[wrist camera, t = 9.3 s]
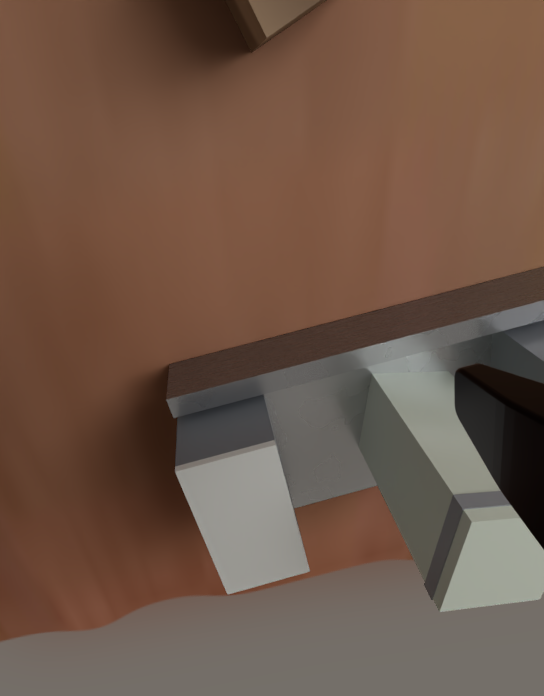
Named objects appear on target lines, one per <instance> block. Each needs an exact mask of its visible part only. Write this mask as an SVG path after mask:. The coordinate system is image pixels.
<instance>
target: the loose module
mask: <svg viewBox="0 0 544 696" xmlns="http://www.w3.org/2000/svg"><path fill="white" fill-rule="evenodd" d="M359 449H360V451H361V453H362V455H363V457H364V459H365V461H366V463H367V465H368V467H369V469H370V471H371V473H372V475H373V477H374V479H375V481H376V483H377V485H378V488H379V490H380V492H381V494H382V496H383V498H384V500H385V502H386V504H387V506H388V508H389V510H390V512H391V514H392V516H393V518H394V520H395V522H396V524H397V526H398V528H399V530H400V532H401V535H402V537H403V539H404V541H405V543H406V545H407V547H408V549H409V551H410V553H411V555H412V557H413V559H414V561H415V563H416V565H417V567H418V569H419V571H420V573H421V575H422V577H423V579H424V581H425V583H424V585H425V588H426V590H427V592H428V594H429V596H430V598H431V600H434V602H435V604H436V606H437V608H438V610H439V612H443V611H451V610H459V609H467V608H475V607H483V606H491V605H499V604H507V603H515V602H523V601H531V600H539V599H540V598H541V596H542V594H543V592H544V550H543V548H542V547H541V545H540V544H539V543H538V541H537V540H536V539H535V537H534V536H533V535H532V533H531V532H530V530H529V529H528V528H527V526H526V525H525V524H524V522H523V521H522V520H521V518H520V517H519V515H518V514H517V513H516V511H515V510H514V509H513V507H512V506H511V505H510V503H509V502H508V500H507V499H506V498H505V496H504V495H503V493H502V492H501V490H500V489H499V487H498V486H497V484H496V482H495V481H494V479H493V478H492V476H491V474H490V472H489V471H488V469H487V467H486V465H485V464H484V462H483V460H482V458H481V457H480V455H479V453H478V452H477V450H476V448H475V446H474V445H473V443H472V441H471V439H470V438H469V436H468V434H467V433H466V431H465V429H464V427H463V426H462V424H461V422H460V420H459V419H458V416H457V414H456V411H455V396H454V376H453V375H452V374H451V373H450V372H449V371H436V372H406V373H376V374H372V375H371V381H370V387H369V392H368V398H367V403H366V409H365V414H364V420H363V425H362V431H361V436H360V442H359Z"/></svg>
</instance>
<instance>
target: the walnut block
mask: <svg viewBox="0 0 544 696" xmlns="http://www.w3.org/2000/svg"><path fill="white" fill-rule="evenodd" d="M225 1H226V3H227V5H228V7H229V9H230V11H231V13H232V15H233V17H234V19H235V21H236V23H237V25H238V27H239V29H240V31H241V33H242V35H243V37H244V39H245V41H246V43H247V45H248V47H249V48H250V50H251V52H253V51H255V50H256V49H258V48H259V47H261V46H262V45H263V44H265V43H266V42H268V41H269V40H271V39H272V38H273V37H275V36H276V35H278V34H279V33H281V32H282V31H283V30H285V29H286V28H288V27H289V26H291V25H292V24H293V23H295V22H296V21H298V20H299V19H301V18H302V17H303V16H305V15H306V14H308V13H309V12H311V11H312V10H313V9H315V8H316V7H318V6H319V5H321V4H322V3H323V2H325V1H326V0H225Z"/></svg>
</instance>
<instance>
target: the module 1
mask: <svg viewBox="0 0 544 696" xmlns="http://www.w3.org/2000/svg"><path fill="white" fill-rule="evenodd" d="M175 473H176V476H177V478H178V480H179V483H180V485H181V487H182V490H183V492H184V494H185V497H186V499H187V501H188V504H189V506H190V508H191V511H192V513H193V515H194V518H195V520H196V522H197V525H198V527H199V529H200V532H201V534H202V536H203V538H204V541H205V543H206V545H207V548H208V550H209V552H210V555H211V557H212V559H213V562H214V564H215V566H216V569H217V571H218V573H219V576H220V578H221V580H222V583H223V585H224V587H225V590H226V592H227V594H231V593H235V592H238V591H242V590H246V589H249V588H253V587H256V586H260V585H263V584H267V583H271V582H274V581H278V580H281V579H285V578H288V577H292V576H295V575H299V574H303V573H306V572H310V570H309V566H308V562H307V558H306V554H305V550H304V546H303V542H302V538H301V534H300V530H299V526H298V522H297V518H296V515H295V511H294V507H293V503H292V499H291V495H290V491H289V488H288V484H287V480H286V476H285V473H284V469H283V465H282V461H281V458H280V454H279V450H278V446H277V443H276V439H275V435H274V431H273V428H272V424H271V420H270V416H269V413H268V409H267V405H266V401H265V398H264V394H263V395H259V396H255V397H252V398H248V399H244V400H240V401H236V402H233V403H229V404H225V405H221V406H218V407H214V408H210V409H206V410H202V411H199V412H195V413H191V414H187V415H184V416H180V417H178V419H177V439H176V460H175Z"/></svg>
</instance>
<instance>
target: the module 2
mask: <svg viewBox="0 0 544 696" xmlns="http://www.w3.org/2000/svg"><path fill="white" fill-rule="evenodd" d="M491 367H493V368H496V369H499V370H503V371H506V372H509V373H512V374H515V375H518V376H521V377H525V378H528V379H531V380H534V381H537V382H540V383H544V320H542V321H538V322H535V323H531V324H527V325H523V326H519V327H516V328H512V329H508V330H504V331H501V332H497V333H493V334H492V346H491Z"/></svg>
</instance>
